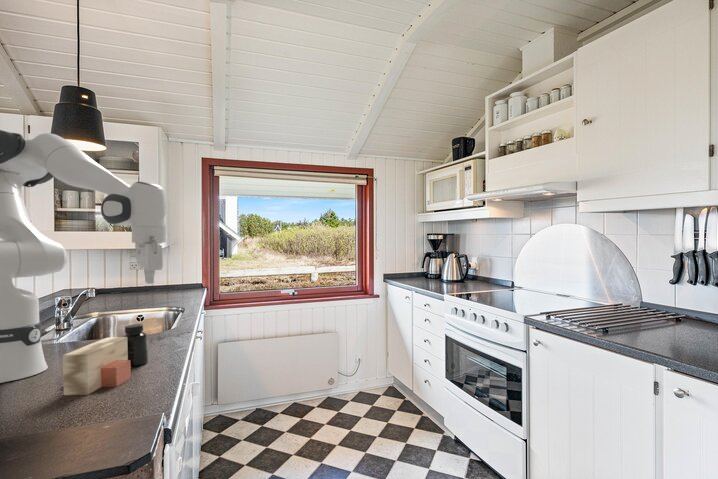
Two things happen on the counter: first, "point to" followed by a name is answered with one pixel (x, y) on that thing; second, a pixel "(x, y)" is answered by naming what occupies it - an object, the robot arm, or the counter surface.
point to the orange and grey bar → (115, 373)
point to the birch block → (91, 364)
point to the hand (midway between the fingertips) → (149, 283)
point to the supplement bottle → (136, 345)
